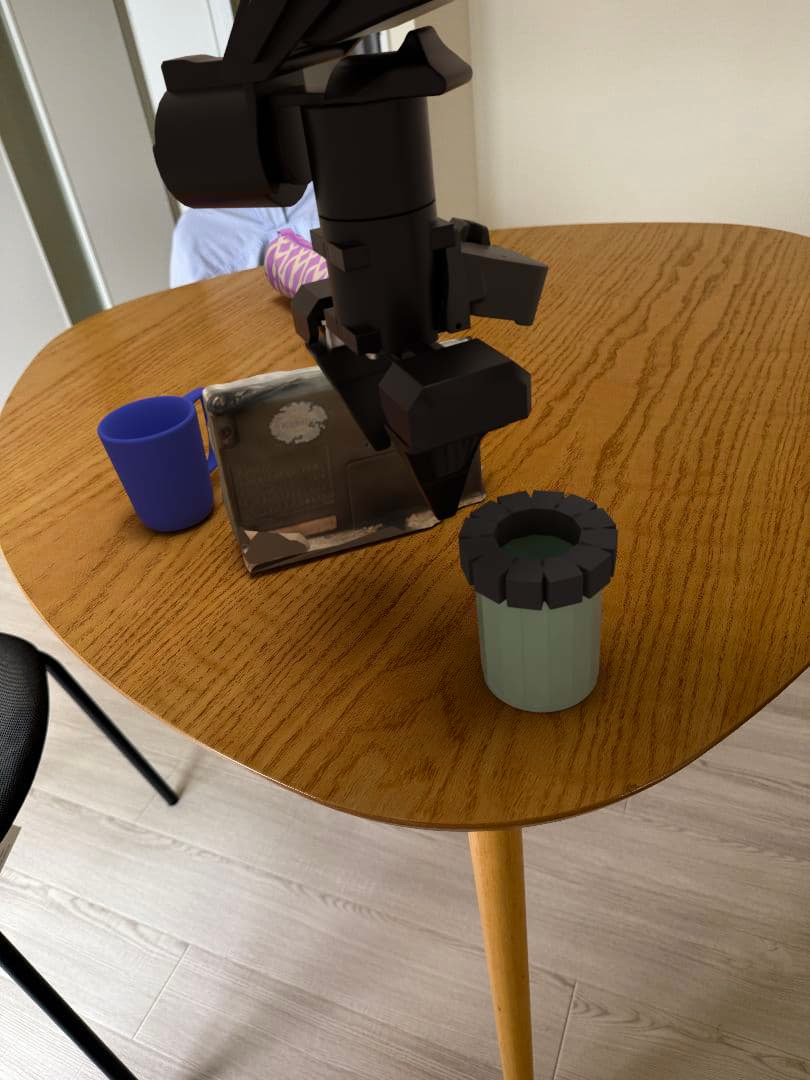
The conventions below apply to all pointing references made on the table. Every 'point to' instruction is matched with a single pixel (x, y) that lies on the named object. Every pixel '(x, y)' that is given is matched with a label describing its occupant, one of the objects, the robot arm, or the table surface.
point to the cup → (540, 642)
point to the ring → (537, 578)
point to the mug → (162, 459)
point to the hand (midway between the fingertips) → (411, 480)
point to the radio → (309, 470)
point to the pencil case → (292, 263)
